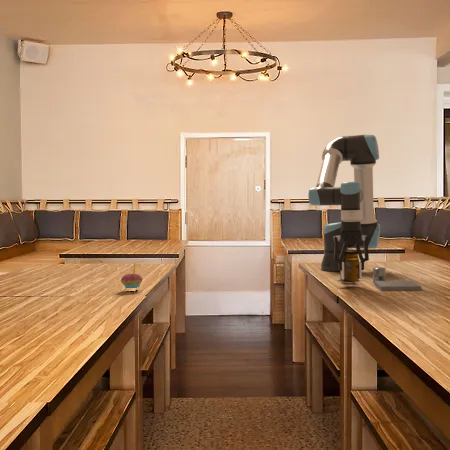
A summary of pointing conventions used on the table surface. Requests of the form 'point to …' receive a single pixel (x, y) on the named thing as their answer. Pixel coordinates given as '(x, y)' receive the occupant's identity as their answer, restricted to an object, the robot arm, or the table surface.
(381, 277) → the metal canister
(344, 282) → the walnut block
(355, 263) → the condiment
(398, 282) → the board
